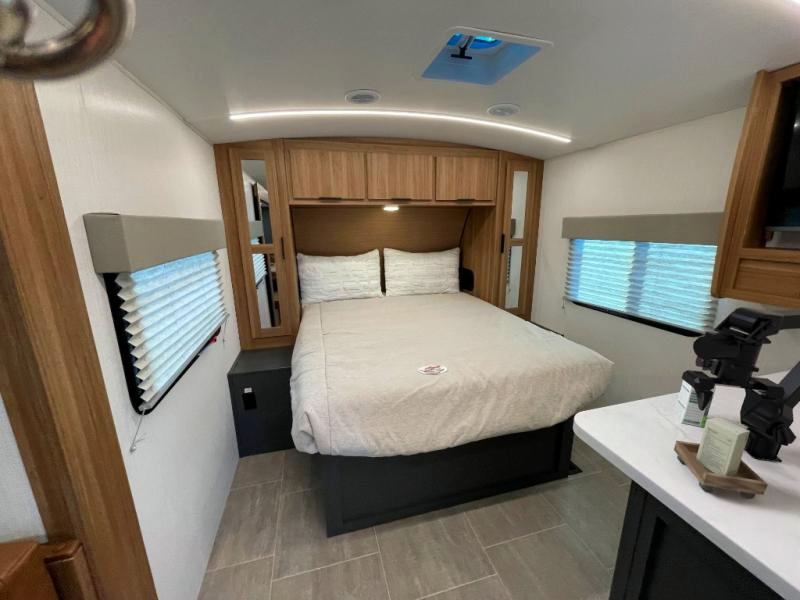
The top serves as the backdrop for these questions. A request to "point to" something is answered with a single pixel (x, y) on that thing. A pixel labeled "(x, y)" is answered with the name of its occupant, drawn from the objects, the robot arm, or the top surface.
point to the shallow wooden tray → (742, 481)
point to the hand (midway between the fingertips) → (721, 412)
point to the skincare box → (722, 446)
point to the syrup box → (691, 406)
